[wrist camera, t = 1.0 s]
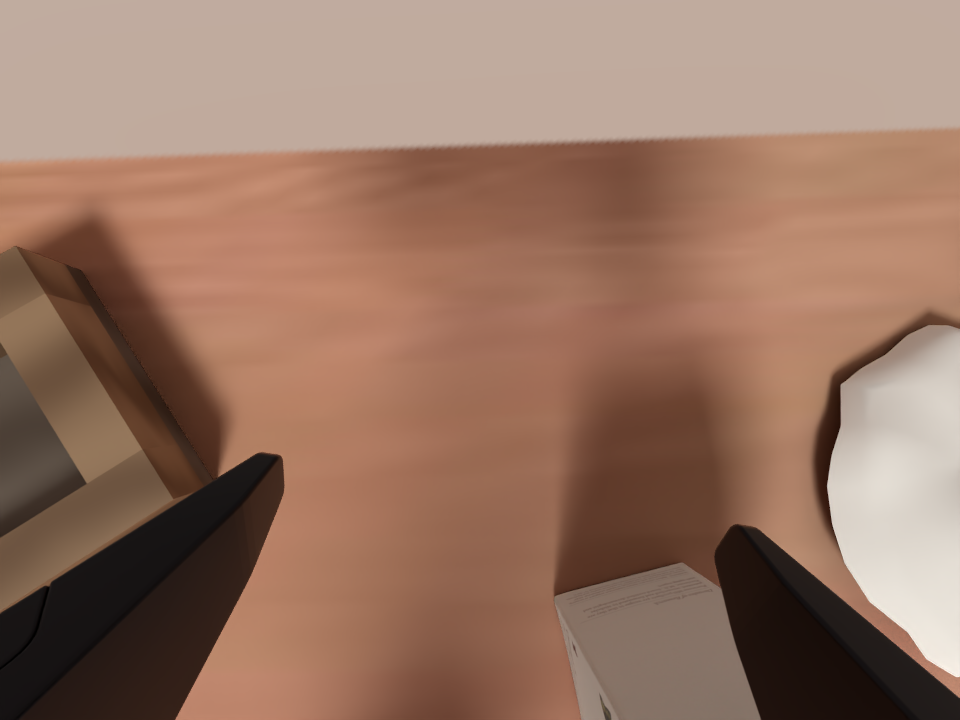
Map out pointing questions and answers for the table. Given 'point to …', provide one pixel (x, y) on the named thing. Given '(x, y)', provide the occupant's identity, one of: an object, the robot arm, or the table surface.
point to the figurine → (904, 488)
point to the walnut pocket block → (75, 429)
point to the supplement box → (654, 649)
